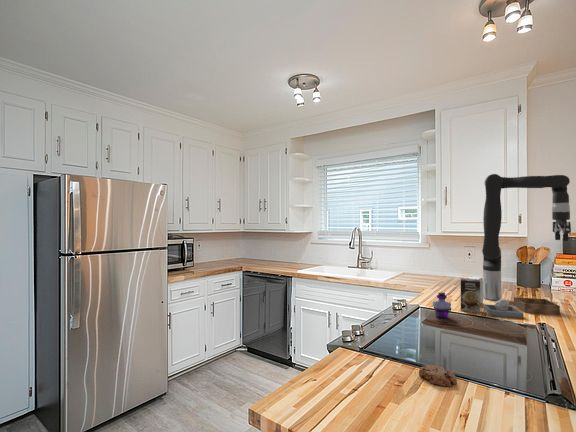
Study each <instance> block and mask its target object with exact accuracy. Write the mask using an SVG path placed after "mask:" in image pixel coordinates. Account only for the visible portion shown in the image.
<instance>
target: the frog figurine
mask: <svg viewBox="0 0 576 432" xmlns="http://www.w3.org/2000/svg"><path fill="white" fill-rule="evenodd" d="M494 305H495V307H496V309H497V310H498V311H503V312H506V311H507V310H508V307H509V306H511V304H510V301H509V300H508V299H505V298H502V299H501V300H495V303H494Z"/></svg>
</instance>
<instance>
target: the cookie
mask: <svg viewBox="0 0 576 432" xmlns="http://www.w3.org/2000/svg"><path fill="white" fill-rule="evenodd" d="M418 374H419V376H420V377H421V378H423V379H424V380H427V381H428V382H429V383H430V384H433V385H437V386H438V385H439V386H442V387H446V388H447V387H451V386H456V385H457V383H458V380H457V377H456V375H455V373H454V372H453V371H450V370H448V369H447V370H446V369H445V368H444V367H442V366H439V365H434V364H425V365H423V366H421V367H420V368H419V371H418Z"/></svg>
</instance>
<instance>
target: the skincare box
mask: <svg viewBox="0 0 576 432" xmlns="http://www.w3.org/2000/svg"><path fill="white" fill-rule="evenodd" d="M466 279H471V280H480V305H482V304H483V303H484V298H483V277H479V276H473V275H472V276H470V277H466Z"/></svg>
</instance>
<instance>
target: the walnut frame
mask: <svg viewBox="0 0 576 432" xmlns="http://www.w3.org/2000/svg"><path fill="white" fill-rule="evenodd" d="M513 307H515V308H516V309H518V310H519V311H521V312H522V313H526V314H537V315H539V314H540V315H541V314H542V315H552V316H553V315H554V316H561V306H560V305H558V304H557V303H555V302H553V301H551V300H549V299H547V298H535V297H533V298H532V297H517V296H516V297H515V296H514V297H513Z"/></svg>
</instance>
